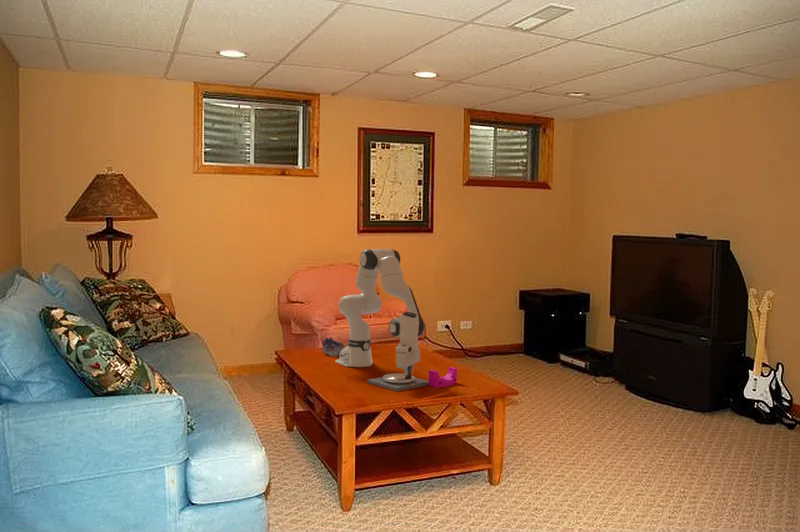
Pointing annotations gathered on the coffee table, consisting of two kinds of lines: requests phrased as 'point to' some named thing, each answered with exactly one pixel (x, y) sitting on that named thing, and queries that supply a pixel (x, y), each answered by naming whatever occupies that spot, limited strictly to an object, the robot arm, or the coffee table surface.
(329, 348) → the geode
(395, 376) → the dial
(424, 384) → the dial plate
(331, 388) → the coffee table surface
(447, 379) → the toy block
